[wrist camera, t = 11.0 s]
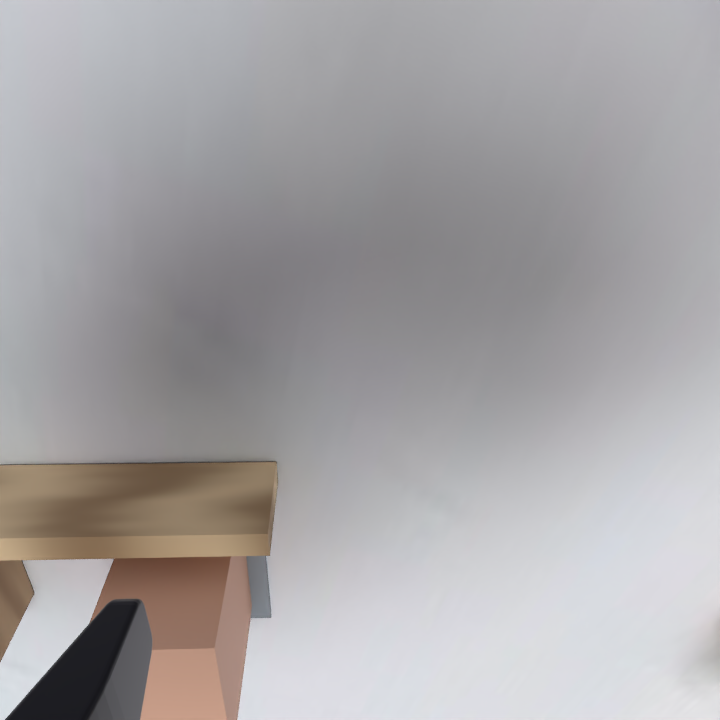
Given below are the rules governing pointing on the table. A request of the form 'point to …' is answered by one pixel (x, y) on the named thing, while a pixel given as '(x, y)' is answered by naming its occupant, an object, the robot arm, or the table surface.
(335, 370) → the table surface
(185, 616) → the terracotta block
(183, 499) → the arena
